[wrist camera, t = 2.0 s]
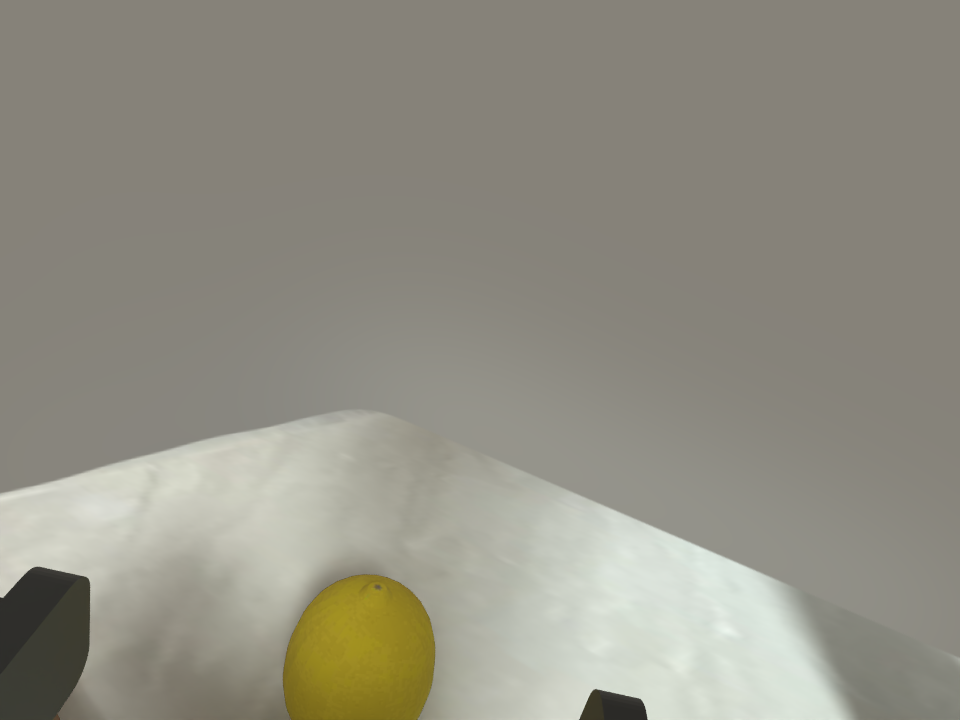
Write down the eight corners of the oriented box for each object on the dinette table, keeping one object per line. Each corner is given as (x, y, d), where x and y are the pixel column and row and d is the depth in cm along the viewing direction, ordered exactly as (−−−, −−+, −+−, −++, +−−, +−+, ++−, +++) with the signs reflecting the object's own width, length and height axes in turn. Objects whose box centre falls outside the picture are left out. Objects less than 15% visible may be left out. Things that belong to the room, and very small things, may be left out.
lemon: (440, 750, 29) (485, 605, 26) (325, 837, 25) (361, 680, 22) (358, 657, 32) (389, 516, 29) (245, 721, 28) (265, 568, 25)
